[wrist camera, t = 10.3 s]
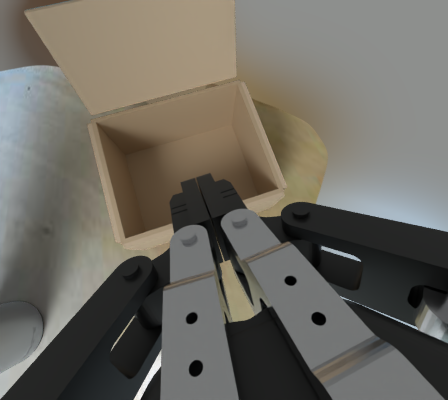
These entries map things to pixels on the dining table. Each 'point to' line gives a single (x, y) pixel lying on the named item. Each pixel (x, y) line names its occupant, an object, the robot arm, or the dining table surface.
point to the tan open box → (181, 158)
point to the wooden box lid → (138, 47)
